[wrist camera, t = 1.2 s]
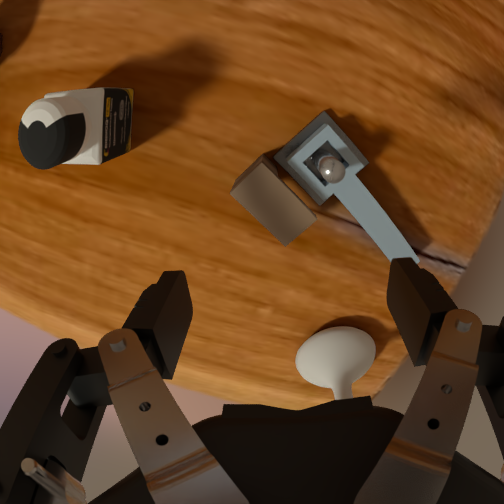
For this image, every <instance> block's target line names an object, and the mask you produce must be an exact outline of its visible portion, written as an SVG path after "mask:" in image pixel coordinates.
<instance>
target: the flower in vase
mask: <svg viewBox="0 0 504 504" xmlns="http://www.w3.org/2000/svg"><path fill="white" fill-rule="evenodd" d="M375 353H376V346H375V343H374V340H373V339H372V337H371V336H370V335H369V334H367V333H366V332H364V331H362V330H360V329H357V328H354V327H347V326H338V327H332V328H328V329H325V330H322V331H320V332H318V333H316V334H314V335H313V336H311V337H310V338H309V339H307V340H306V341H305V342H304V343H303V344H302V346H301V347H300V348H299V350H298V352H297V355H296V367H297V369H298V371H299V373H300V374H301V376H302V377H303V378H304V379H305V380H307V381H308V382H310V383H312V384H315V385H317V386H321V387H326V388H332V390H333V392H334V396H335V400H339V399H348V398H353V395H352V389H351V385H352V383H353V382H355V381H356V380H358V379H359V378H361V377H362V376H363V375H364V374H365V373H366V372H367V371H368V369H369V368H370V367H371V365H372V363H373V361H374V358H375Z"/></svg>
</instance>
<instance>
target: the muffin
mask: <svg viewBox="0 0 504 504" xmlns="http://www.w3.org/2000/svg"><path fill="white" fill-rule="evenodd" d="M1 53H2V34H1V33H0V55H1Z"/></svg>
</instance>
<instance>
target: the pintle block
mask: <svg viewBox="0 0 504 504" xmlns="http://www.w3.org/2000/svg"><path fill="white" fill-rule="evenodd" d="M323 124H327V125H329V126H330V127H331V129H332V130H333V131H334V132H335V133H336V134H337V135H338V136H339V137H340V139H341V140H342V141H343V142H344V143H345V144H346V145H347V147H348V148H349V149H350V150H351V151H352V152H353V154H354V155H355V156H356V157H357V158H358V160H359V161H360V162H361V163H362V164H363V166H364V167H365V166H366V165H367V164H368V163H369V162H368V161H367V159H366V158H365V157H364V156H363V154H362V153H361V152H360V151H359V150H358V148H357V147H356V146H355V145H354V144H353V143H352V141H351V140H350V139H349V138H348V137H347V136H346V134H345V133H344V132H343V131H342V130H341V129H340V128H339V126H338V125H337V124H336V123H335V122H334V121H333V120H332V119H331V118H330V117H329V115H328V114H327V113H326V112H325V111H322V112H321V113H320V114H319V115H318V116H317V117H315V118H314V119H313V120H312V121H311V122H310V123H309V124H308V125H306V126H305V127H304V128H303V129H302V130H301V131H300V132H299V133H298V134H297V135H295V136H294V137H293V138H292V139H291V140H290V141H289V142H288V143H287V144H286V145H285V146H283V147H282V148H281V149H280V150H279V151H278V152H277V153H276V154H275V155H274V156H273V158H274V159H275V160H276V161H277V162H278V163H279V164H280V165H281V166H282V167H283V168H284V169H285V170H286V171H287V172H288V173H289V174H290V175H291V176H292V177H293V178H294V179H295V180H296V181H297V182H298V183H299V185H300V186H301V187H302V188H303V189H304V190H305V191H306V192H307V193H308V194H309V195H310V196H311V197H312V198H313V199H314V200H315V201H316V203H317V204H318V205H319V206H320V205H321V204H322V203H324V202H325V201H326V200H327V199H328V198H329V197H328V198H327V199H326V200H325V201H323V199H322V198H321V197H320V196H319V195H318V194H317V193H316V192H315V191H314V190H313V189H312V188H311V187H310V185H309V184H308V183H307V182H306V181H305V180H304V179H303V178H302V177H301V176H300V175H299V174H298V173H297V172H296V171H295V170H294V169H293V168H292V167H291V166H290V165H289V164H288V163H287V160H286V158H287V157H288V156H289V155H290V154H291V153H292V152H293V151H294V150H295V149H297V148H298V147H299V146H300V145H301V144H302V143H303V142H304V141H305V140H306V139H308V138H309V137H310V136H311V135H312V134H313V133H314V132H315V131H316V130H318V129H319V128H320V127H321V126H322V125H323ZM343 162H344V160H343V158H342V157H341V156H340V155H339V154H338V153H337V152H336V150H335V149H334V148H333V147H332V146H331V145H330V144H329V143H328V142H327V141H326V142H325V143H324V144H323V145H321V146H320V147H319V148H318V149H317V150H316V151H315V152H314V153H313V154H311V155H310V156H309V157H308V158H307V159H306V160H305V161H304V163H305V164H306V165H307V166H308V167H309V168H310V169H311V171H312V172H313V173H314V174H315V175H316V176H317V177H318V178H319V179H320V180H321V181H323V180H324V179H325V180H326V181H327V182H329V183H332V184H335V183H339V182H340V181H342V180H343V178H344V177H345V173H346V171H345V167H344V165H343V164H342V163H343ZM364 167H363V168H364ZM363 168H362V169H363ZM360 170H361V169H360ZM360 170H359V171H360ZM359 171H358V172H359ZM358 172H357V173H358ZM357 173H356V174H357ZM356 174H355V175H356ZM333 194H334V193H333ZM333 194H332V195H333ZM332 195H331V196H332ZM331 196H330V197H331Z"/></svg>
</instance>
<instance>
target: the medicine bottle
mask: <svg viewBox="0 0 504 504" xmlns="http://www.w3.org/2000/svg"><path fill="white" fill-rule="evenodd" d="M133 94H134V91H133V89H131V88H90V89H79V90H70V91H62V92H54V93H48V94H46V95H45V97H44V98H43V99H39V100H37V101H35V102H33V103H32V104H31V105H30V106H29V107H28V108H27V110H26V111H25V113H24V115H23V117H22V119H21V122H20V125H19V131H18V140H19V146H20V149H21V152H22V154H23V156H24V157H25V159H26V160H27V161H28V162H29V163H30V164H31V165H32V166H34V167H35V168H38V169H50V168H52V167H54V166H57V165H59V164H96V165H99V164H102V163H104V162H106V161H109V160H111V159H113V158H116V157H118V156H120V155H123V154H125V153H128V152H129V151H130V147H131V123H132V107H133Z"/></svg>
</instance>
